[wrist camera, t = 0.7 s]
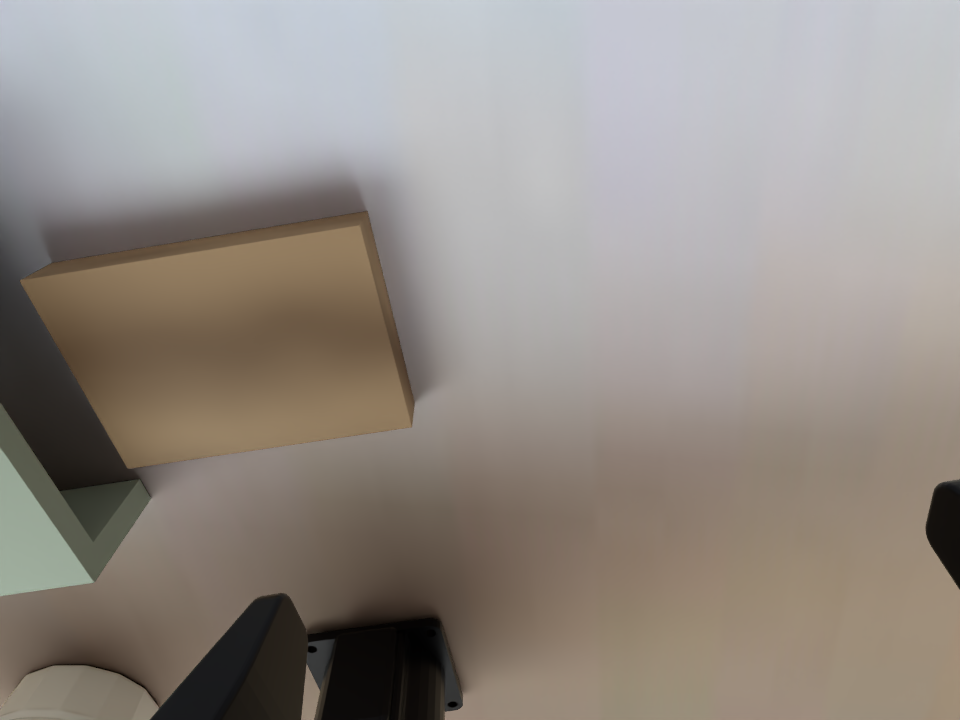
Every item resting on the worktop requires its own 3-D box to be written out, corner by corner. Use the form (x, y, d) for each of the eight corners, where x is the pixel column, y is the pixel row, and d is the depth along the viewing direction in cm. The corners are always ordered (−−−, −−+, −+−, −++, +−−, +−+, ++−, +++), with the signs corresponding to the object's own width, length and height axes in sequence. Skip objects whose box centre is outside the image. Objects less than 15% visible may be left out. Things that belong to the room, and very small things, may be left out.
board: (415, 395, 21) (411, 427, 20) (154, 434, 22) (127, 469, 20) (369, 207, 18) (359, 225, 16) (61, 258, 18) (19, 280, 17)
